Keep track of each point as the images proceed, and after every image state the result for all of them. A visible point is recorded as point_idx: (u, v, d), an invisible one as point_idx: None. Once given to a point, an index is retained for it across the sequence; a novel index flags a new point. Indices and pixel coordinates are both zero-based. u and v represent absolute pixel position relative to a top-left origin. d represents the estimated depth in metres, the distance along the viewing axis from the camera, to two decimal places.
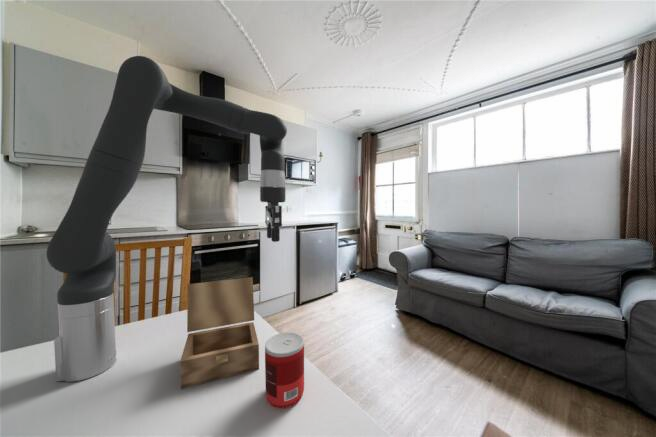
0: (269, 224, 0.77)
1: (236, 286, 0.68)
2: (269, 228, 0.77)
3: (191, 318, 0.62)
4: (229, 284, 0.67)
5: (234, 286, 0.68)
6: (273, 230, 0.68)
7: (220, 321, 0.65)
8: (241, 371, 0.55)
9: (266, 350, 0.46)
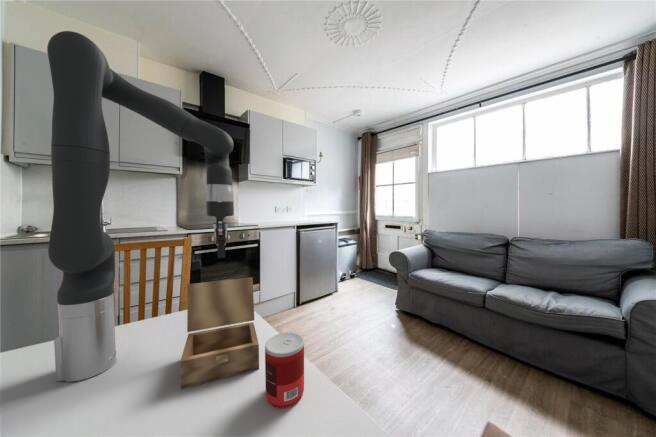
0: None
1: (236, 286, 0.68)
2: None
3: (191, 318, 0.62)
4: (229, 284, 0.67)
5: (234, 286, 0.68)
6: (218, 247, 0.71)
7: (220, 321, 0.65)
8: (241, 371, 0.55)
9: (266, 350, 0.46)
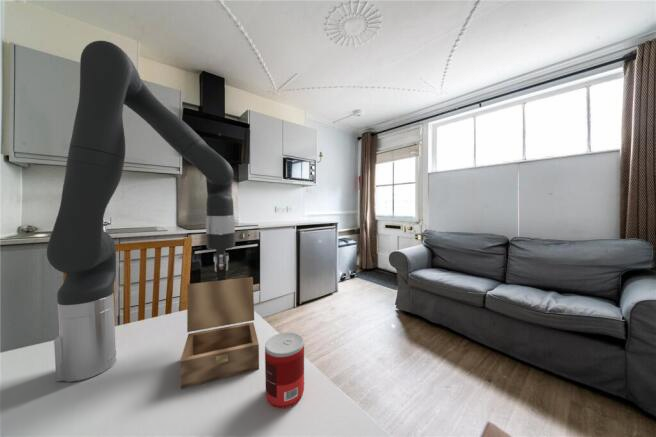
0: None
1: (236, 286, 0.68)
2: None
3: (191, 318, 0.62)
4: (229, 284, 0.67)
5: (234, 286, 0.67)
6: (219, 280, 0.68)
7: (220, 321, 0.65)
8: (241, 371, 0.55)
9: (266, 350, 0.46)
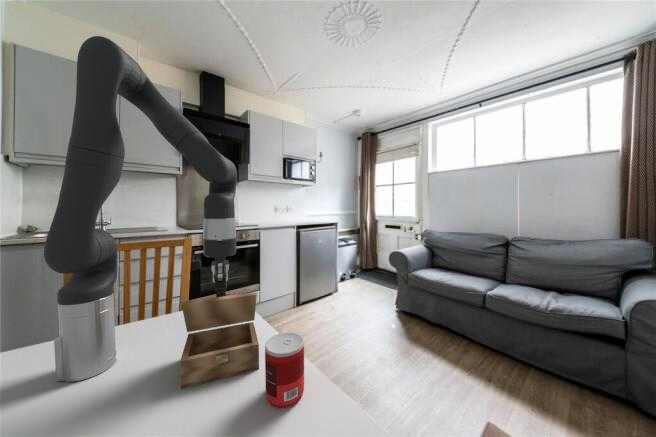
0: None
1: (237, 302, 0.61)
2: None
3: (190, 324, 0.60)
4: (230, 301, 0.59)
5: (235, 302, 0.60)
6: (217, 292, 0.60)
7: (220, 323, 0.64)
8: (241, 371, 0.55)
9: (266, 350, 0.46)
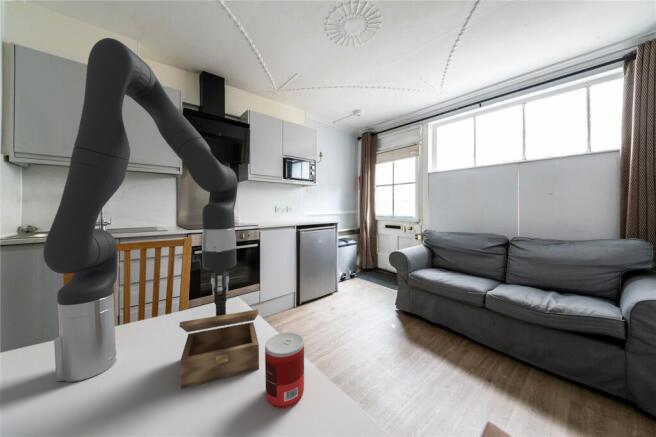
0: None
1: (238, 318, 0.58)
2: None
3: (189, 330, 0.59)
4: (230, 318, 0.57)
5: (236, 318, 0.58)
6: (217, 306, 0.57)
7: (220, 325, 0.63)
8: (241, 371, 0.55)
9: (266, 350, 0.46)
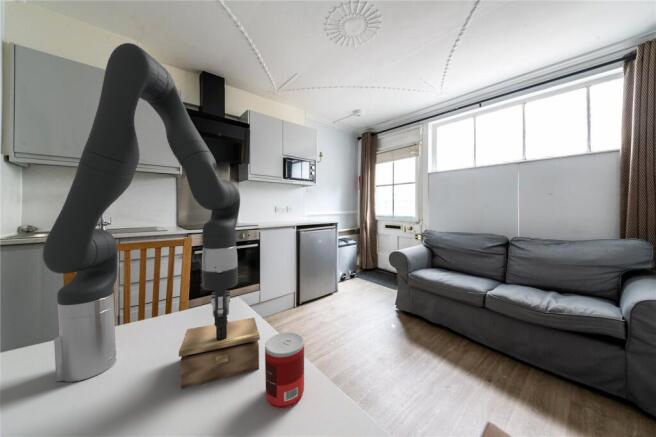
0: None
1: None
2: None
3: None
4: None
5: None
6: (218, 327, 0.55)
7: None
8: (241, 371, 0.55)
9: (266, 350, 0.46)
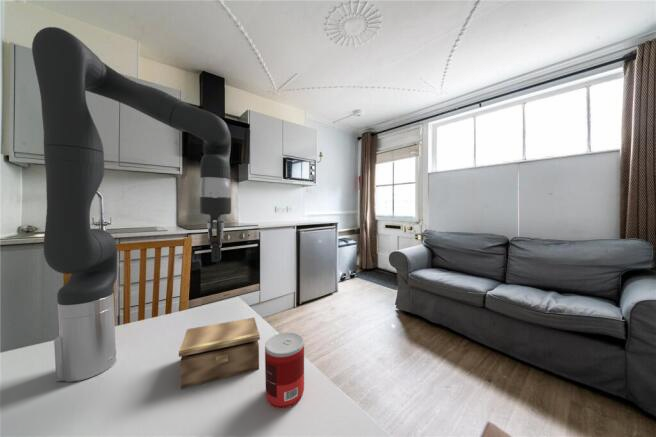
0: None
1: None
2: None
3: None
4: None
5: None
6: (212, 249, 0.62)
7: None
8: (241, 371, 0.55)
9: (266, 350, 0.46)
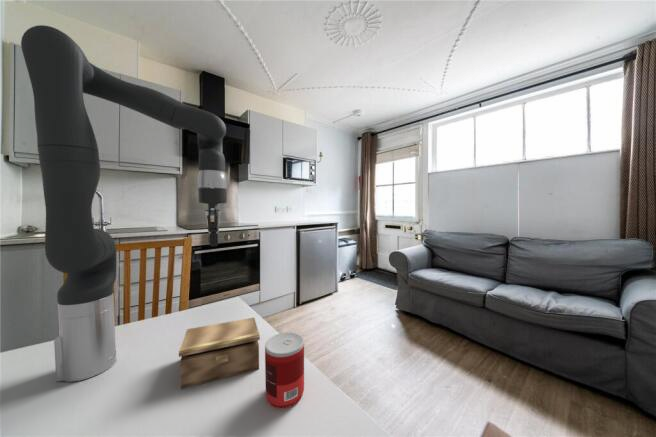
0: None
1: None
2: None
3: None
4: None
5: None
6: (210, 235, 0.70)
7: None
8: (241, 371, 0.55)
9: (266, 350, 0.46)
